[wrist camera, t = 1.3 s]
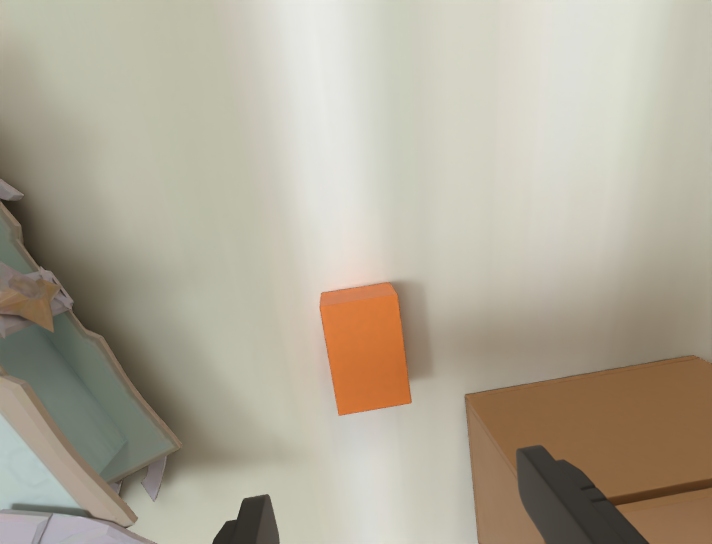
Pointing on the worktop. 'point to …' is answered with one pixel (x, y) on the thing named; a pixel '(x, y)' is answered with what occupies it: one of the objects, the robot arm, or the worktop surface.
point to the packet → (365, 348)
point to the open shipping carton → (602, 447)
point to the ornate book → (65, 414)
